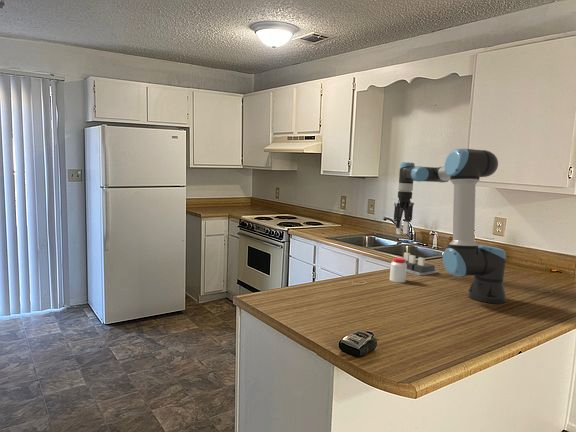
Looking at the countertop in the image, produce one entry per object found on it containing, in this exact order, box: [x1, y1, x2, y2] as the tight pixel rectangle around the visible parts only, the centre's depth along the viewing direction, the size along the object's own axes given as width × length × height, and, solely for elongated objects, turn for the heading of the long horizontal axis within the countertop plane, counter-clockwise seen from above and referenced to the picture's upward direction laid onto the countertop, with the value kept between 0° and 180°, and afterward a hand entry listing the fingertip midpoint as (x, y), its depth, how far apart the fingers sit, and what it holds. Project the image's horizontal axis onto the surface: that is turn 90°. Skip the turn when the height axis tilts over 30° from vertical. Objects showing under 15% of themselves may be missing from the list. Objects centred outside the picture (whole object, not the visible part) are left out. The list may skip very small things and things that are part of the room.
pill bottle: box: [389, 257, 407, 284], centre depth 215 cm, size 8×8×11 cm
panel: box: [405, 260, 439, 277], centre depth 239 cm, size 18×16×4 cm
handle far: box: [417, 256, 426, 266], centre depth 232 cm, size 3×2×4 cm, turn 36°
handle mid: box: [409, 254, 417, 264], centre depth 237 cm, size 3×2×4 cm, turn 36°
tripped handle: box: [403, 251, 411, 261], centre depth 244 cm, size 3×2×4 cm, turn 36°
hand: (401, 233), depth 238 cm, fingers open, 5 cm apart
